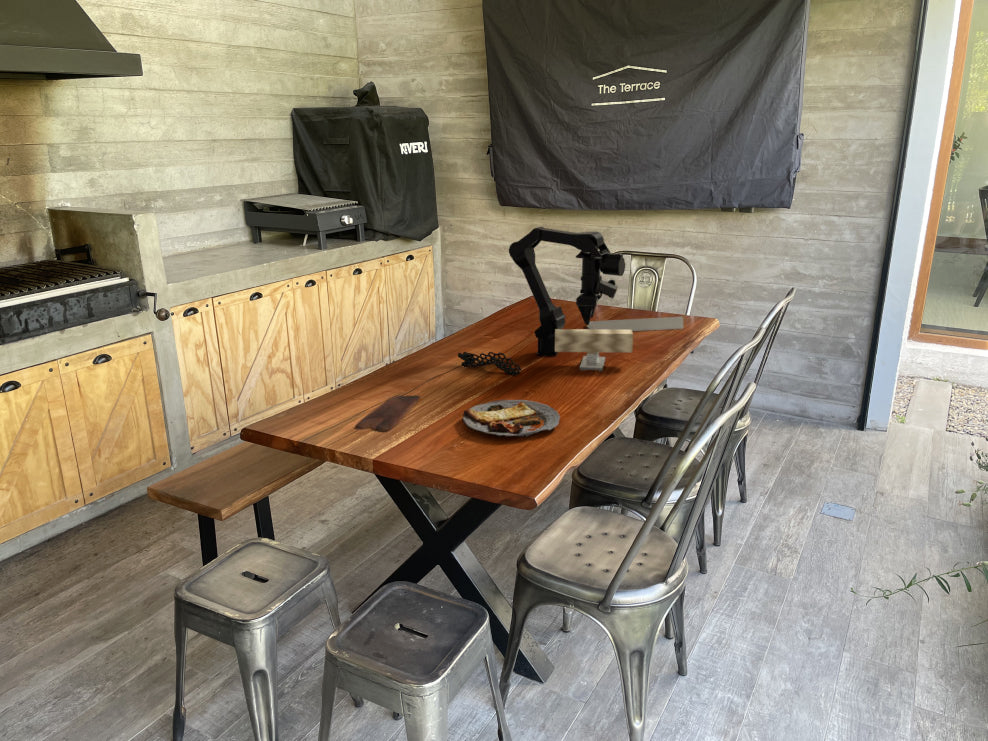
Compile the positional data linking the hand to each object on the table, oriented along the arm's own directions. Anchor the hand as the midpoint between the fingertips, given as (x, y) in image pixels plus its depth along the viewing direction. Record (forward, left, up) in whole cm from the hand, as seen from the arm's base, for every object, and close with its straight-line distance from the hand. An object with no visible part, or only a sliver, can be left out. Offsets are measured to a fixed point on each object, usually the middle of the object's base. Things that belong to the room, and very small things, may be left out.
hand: (589, 321), depth 240 cm
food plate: (-14, -58, -13) cm, 61 cm away
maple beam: (+2, -6, -8) cm, 10 cm away
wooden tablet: (-47, -56, -14) cm, 75 cm away
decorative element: (-30, -16, -13) cm, 36 cm away
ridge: (+2, -6, -13) cm, 14 cm away
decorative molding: (+13, +43, -14) cm, 47 cm away
